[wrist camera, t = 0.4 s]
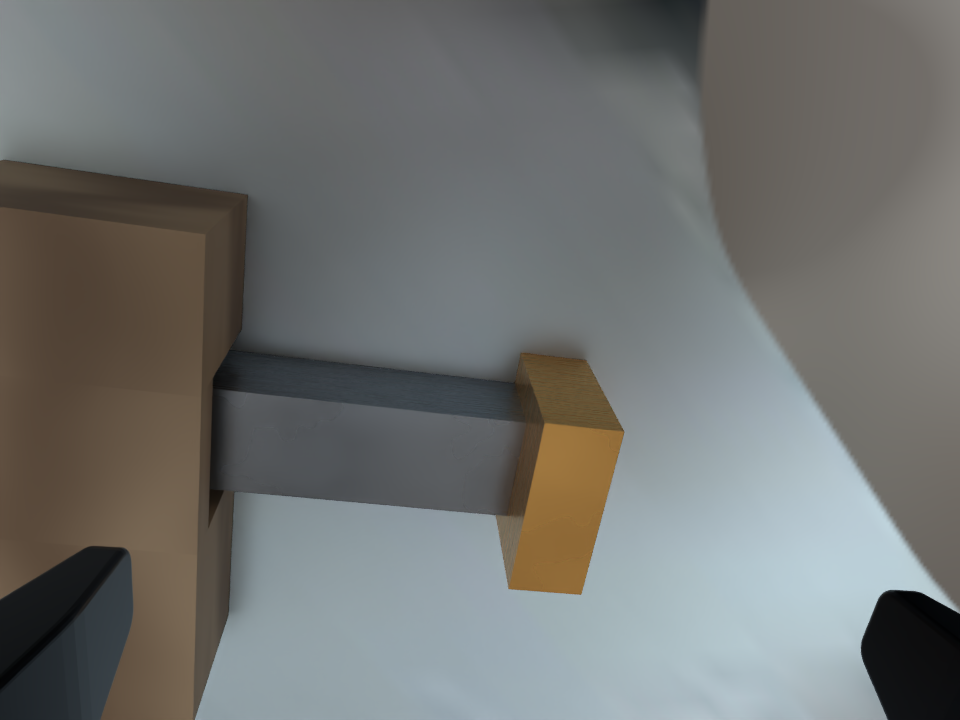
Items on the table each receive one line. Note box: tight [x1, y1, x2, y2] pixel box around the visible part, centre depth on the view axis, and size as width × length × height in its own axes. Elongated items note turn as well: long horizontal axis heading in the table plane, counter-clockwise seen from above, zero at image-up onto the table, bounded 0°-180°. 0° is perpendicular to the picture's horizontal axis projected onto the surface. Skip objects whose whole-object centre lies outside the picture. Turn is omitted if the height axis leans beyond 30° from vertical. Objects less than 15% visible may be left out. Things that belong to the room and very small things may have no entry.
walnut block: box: [0, 160, 248, 720], centre depth 20 cm, size 6×14×4 cm, turn 171°
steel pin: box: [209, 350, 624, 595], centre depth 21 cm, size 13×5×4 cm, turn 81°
